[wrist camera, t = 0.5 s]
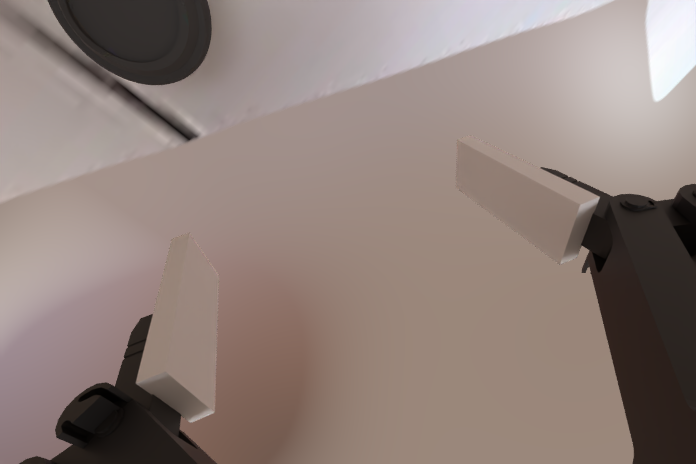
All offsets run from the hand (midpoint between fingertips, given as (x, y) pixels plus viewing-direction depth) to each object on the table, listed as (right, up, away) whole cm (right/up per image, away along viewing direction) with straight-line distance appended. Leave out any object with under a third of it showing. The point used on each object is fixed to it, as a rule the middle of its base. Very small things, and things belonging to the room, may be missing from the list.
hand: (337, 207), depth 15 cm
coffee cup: (-17, +20, +15) cm, 31 cm away
